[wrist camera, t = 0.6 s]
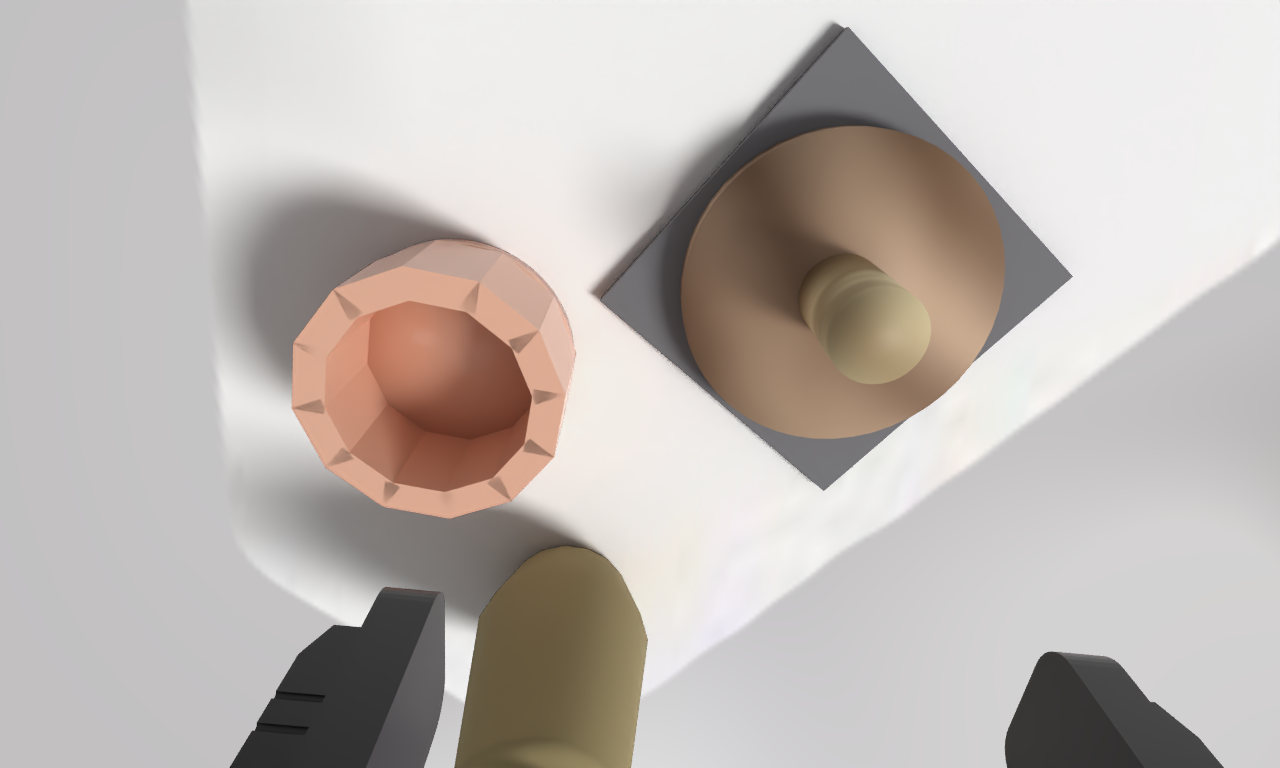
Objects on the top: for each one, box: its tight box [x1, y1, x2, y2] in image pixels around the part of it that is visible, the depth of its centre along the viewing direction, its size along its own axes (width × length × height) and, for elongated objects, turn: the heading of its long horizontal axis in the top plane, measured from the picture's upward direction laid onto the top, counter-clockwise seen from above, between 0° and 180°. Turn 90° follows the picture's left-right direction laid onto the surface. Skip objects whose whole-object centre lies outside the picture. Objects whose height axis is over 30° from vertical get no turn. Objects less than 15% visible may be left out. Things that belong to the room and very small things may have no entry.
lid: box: [680, 125, 1005, 439], centre depth 27 cm, size 13×13×6 cm
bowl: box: [292, 239, 576, 519], centre depth 29 cm, size 10×10×6 cm
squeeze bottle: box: [455, 546, 648, 768], centre depth 29 cm, size 8×8×18 cm
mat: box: [601, 27, 1073, 491], centre depth 30 cm, size 14×14×1 cm
